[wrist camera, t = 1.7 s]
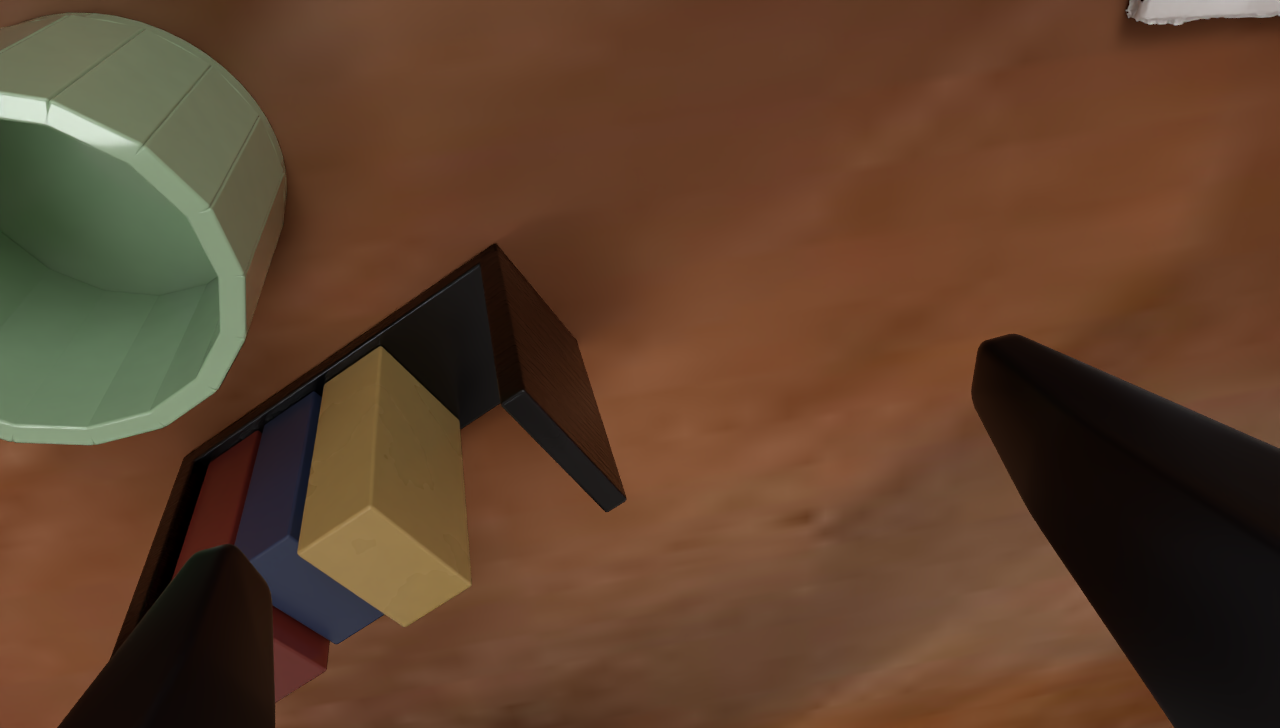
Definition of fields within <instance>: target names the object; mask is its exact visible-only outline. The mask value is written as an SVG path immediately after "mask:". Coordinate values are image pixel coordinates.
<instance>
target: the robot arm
mask: <svg viewBox="0 0 1280 728" xmlns="http://www.w3.org/2000/svg"><path fill="white" fill-rule="evenodd" d="M971 393H972V400H973V404H974V407H975V409H976V411H977V413H978V415H979V417H980V419H981V421H982V423H983V425H984V427H985V429H986V430H987V432H988V434H989V436H990V438H991V440H992V442H993V444H994V446H995V448H996V450H997V452H998V454H999V455H1000V457H1001V459H1002V461H1003V463H1004V465H1005V467H1006V469H1007V471H1008V473H1009V475H1010V477H1011V479H1012V480H1013V482H1014V484H1015V486H1016V488H1017V490H1018V492H1019V494H1020V496H1021V498H1022V499H1023V501H1024V503H1025V505H1026V507H1027V508H1028V510H1029V512H1030V514H1031V515H1032V517H1033V518H1034V520H1035V521H1036V523H1037V524H1038V526H1039V528H1040V529H1041V531H1042V532H1043V534H1044V535H1045V537H1046V538H1047V540H1048V541H1049V543H1050V544H1051V545H1052V547H1053V548H1054V550H1055V551H1056V553H1057V554H1058V556H1059V557H1060V559H1061V560H1062V562H1063V563H1064V565H1065V566H1066V568H1067V569H1068V571H1069V572H1070V574H1071V575H1072V577H1073V578H1074V580H1075V581H1076V583H1077V584H1078V585H1079V587H1080V588H1081V590H1082V591H1083V593H1084V594H1085V596H1086V597H1087V599H1088V600H1089V602H1090V603H1091V605H1092V606H1093V608H1094V609H1095V611H1096V612H1097V614H1098V615H1099V617H1100V618H1101V620H1102V621H1103V623H1104V624H1105V625H1106V627H1107V628H1108V630H1109V631H1110V633H1111V634H1112V636H1113V637H1114V639H1115V640H1116V642H1117V643H1118V645H1119V646H1120V648H1121V649H1122V651H1123V652H1124V654H1125V655H1126V657H1127V658H1128V660H1129V661H1130V663H1131V664H1132V665H1133V667H1134V668H1135V670H1136V671H1137V673H1138V674H1139V676H1140V677H1141V679H1142V680H1143V682H1144V683H1145V685H1146V686H1147V688H1148V689H1149V691H1150V692H1151V694H1152V695H1153V697H1154V698H1155V700H1156V701H1157V703H1158V704H1159V705H1160V707H1161V708H1162V710H1163V711H1164V713H1165V714H1166V716H1167V717H1168V719H1169V720H1170V722H1171V723H1172V725H1173V726H1174V728H1280V449H1279V448H1277V447H1275V446H1272V445H1270V444H1268V443H1265V442H1263V441H1261V440H1259V439H1256V438H1254V437H1252V436H1249V435H1247V434H1245V433H1243V432H1240V431H1238V430H1236V429H1234V428H1231V427H1229V426H1227V425H1224V424H1222V423H1220V422H1218V421H1215V420H1213V419H1211V418H1208V417H1206V416H1204V415H1202V414H1199V413H1197V412H1195V411H1192V410H1190V409H1188V408H1186V407H1183V406H1181V405H1179V404H1176V403H1174V402H1172V401H1170V400H1167V399H1165V398H1163V397H1160V396H1158V395H1156V394H1154V393H1151V392H1149V391H1147V390H1144V389H1142V388H1140V387H1138V386H1135V385H1133V384H1131V383H1129V382H1126V381H1124V380H1122V379H1119V378H1117V377H1115V376H1113V375H1110V374H1108V373H1106V372H1103V371H1101V370H1099V369H1097V368H1094V367H1092V366H1090V365H1087V364H1085V363H1083V362H1081V361H1078V360H1076V359H1074V358H1071V357H1069V356H1067V355H1065V354H1062V353H1060V352H1058V351H1055V350H1053V349H1051V348H1049V347H1046V346H1044V345H1042V344H1039V343H1037V342H1035V341H1033V340H1030V339H1028V338H1026V337H1023V336H1021V335H1018V334H1008V335H1004V336H1000V337H997V338H993V339H989V340H986V341H984V342H982V343H981V345H980V346H979V348H978V351H977V357H976V363H975V370H974V376H973V382H972V390H971ZM57 728H275V685H274V650H273V615H272V597H271V592H270V589H269V587H268V585H267V583H266V581H265V580H264V578H263V577H262V576H261V575H260V573H259V572H258V571H257V570H256V569H255V567H254V566H253V565H252V564H251V562H250V561H249V560H248V559H247V557H246V556H245V555H244V554H243V553H242V551H241V550H240V549H239V548H238V547H237V546H235V545H232V544H224V545H220V546H216V547H212V548H209V549H205V550H201V551H198V552H196V553H195V554H193V555H192V556H191V557H190V558H189V559H188V560H187V562H186V563H185V564H184V566H183V567H182V568H181V569H180V571H179V572H178V573H177V575H176V576H175V577H174V578H173V580H172V581H171V582H170V584H169V585H168V586H167V587H166V589H165V590H164V591H163V593H162V594H161V595H160V596H159V598H158V599H157V600H156V602H155V603H154V604H153V605H152V607H151V608H150V609H149V611H148V612H147V613H146V614H145V616H144V617H143V618H142V620H141V621H140V622H139V623H138V625H137V626H136V627H135V629H134V630H133V631H132V632H131V634H130V635H129V636H128V638H127V639H126V640H125V641H124V643H123V644H122V645H121V647H120V648H119V649H118V650H117V652H116V653H115V654H114V656H113V657H112V658H111V659H110V661H109V662H108V663H107V664H106V666H105V667H104V668H103V670H102V671H101V672H100V673H99V675H98V676H97V677H96V679H95V680H94V681H93V682H92V684H91V685H90V686H89V688H88V689H87V690H86V691H85V693H84V694H83V695H82V697H81V698H80V699H79V700H78V702H77V703H76V704H75V706H74V707H73V708H72V709H71V711H70V712H69V713H68V715H67V716H66V717H65V718H64V720H63V721H62V722H61V724H60V725H59V726H58V727H57Z"/></svg>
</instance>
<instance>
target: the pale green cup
mask: <svg viewBox="0 0 1280 728" xmlns="http://www.w3.org/2000/svg"><path fill="white" fill-rule="evenodd" d="M286 197H287V180H286V170H285V165H284V160H283V155H282V152H281V149H280V147H279V144H278V141H277V138H276V136H275V134H274V132H273V130H272V128H271V126H270V124H269V122H268V120H267V118H266V116H265V115H264V113H263V112H262V110H261V109H260V107H259V106H258V104H257V103H256V101H255V100H254V99H253V98H252V96H251V95H250V94H249V93H248V92H247V90H246V89H245V88H244V87H243V86H242V84H241V83H240V82H239V81H237V80H236V79H235V78H234V77H233V76H232V75H231V74H230V73H229V72H228V71H227V70H226V69H225V68H224V67H223V66H221V65H220V64H219V63H217V62H216V61H215V60H213V59H212V58H211V57H210V56H208V55H207V54H206V53H204V52H202V51H201V50H199V49H198V48H196V47H194V46H193V45H191V44H190V43H188V42H186V41H185V40H183V39H181V38H178V37H176V36H174V35H172V34H170V33H168V32H166V31H164V30H162V29H159V28H156V27H153V26H150V25H148V24H145V23H142V22H139V21H135V20H131V19H127V18H123V17H119V16H113V15H105V14H97V13H62V14H55V15H47V16H42V17H39V18H35V19H31V20H28V21H24V22H22V23H20V24H17V25H13V26H9V27H4V28H1V29H0V439H3V440H6V441H9V442H12V441H14V442H16V443H39V444H66V445H94V444H95V445H98V444H102V443H106V442H110V441H114V440H118V439H122V438H126V437H130V436H134V435H138V434H142V433H146V432H150V431H153V430H157V429H161V428H163V427H166V426H168V425H169V424H171V423H172V422H174V421H175V420H177V419H178V418H179V417H181V416H182V415H184V414H185V413H187V412H188V411H189V410H191V409H192V408H194V407H195V406H197V405H198V404H199V403H201V402H202V401H204V400H205V399H207V398H208V397H209V396H211V395H212V394H214V393H215V392H216V391H217V390H218V389H219V388H220V386H221V384H222V382H223V380H224V379H225V377H226V375H227V373H228V371H229V369H230V368H231V366H232V364H233V362H234V360H235V358H236V357H237V355H238V353H239V351H240V349H241V347H242V345H243V344H244V342H245V340H246V337H247V334H248V331H249V327H250V324H251V321H252V318H253V315H254V312H255V309H256V306H257V303H258V300H259V297H260V294H261V291H262V288H263V285H264V282H265V279H266V276H267V273H268V270H269V267H270V264H271V261H272V258H273V255H274V252H275V249H276V246H277V242H278V239H279V236H280V233H281V230H282V227H283V223H284V211H285V207H286Z"/></svg>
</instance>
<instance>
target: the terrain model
mask: <svg viewBox="0 0 1280 728" xmlns="http://www.w3.org/2000/svg"><path fill="white" fill-rule="evenodd" d="M1129 3H1130V5H1129V6H1128V10H1126V11H1128V12H1129V13H1127V15H1128V16H1127V17H1128V18H1130V17H1131V18H1135V19H1136V21H1137V22H1138V21H1142V22H1144V23H1147V24H1148V25H1152V24H1154V25H1155V24H1156V23H1158V25H1160V24H1166V23H1169V24H1174V26H1175V25H1181V24H1183V22H1190V21H1192V20H1198V19H1204V18H1205V19H1209V18H1212V17H1213V18H1219V17H1224V18H1241V17H1256V18H1265V17H1267V16H1268V17H1273V16H1276V15H1278V16H1280V0H1144V1H1143V3H1142V2H1141V0H1130V1H1129ZM1268 17H1267V18H1268ZM1260 24H1261V23H1260Z"/></svg>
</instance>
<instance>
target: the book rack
mask: <svg viewBox="0 0 1280 728" xmlns="http://www.w3.org/2000/svg"><path fill="white" fill-rule="evenodd" d="M500 403H501V406H502V407H503V408H504V409H505V410H506V411H507V412H508V413H509V414H510V415H511V416H512V417H513V418H514V419H515V420H516V421H517V422H518V423H519V424H520V425H521V426H522V427H523V428H524V429H525V430H526V432H527V433H528V434H529V435H530V436H531V437H532V438H533V439H534V440H535V441H536V442H537V443H538V444H539V445H540V446H541V447H542V448H543V449H544V450H545V451H546V452H547V453H548V454H549V455H550V456H551V457H552V458H553V459H554V460H555V461H556V462H557V463H558V464H559V465H560V466H561V467H562V468H563V469H564V470H565V471H566V472H567V473H568V474H569V475H570V476H571V477H572V478H573V479H574V480H575V481H576V482H577V483H578V484H579V486H580V487H581V488H582V489H583V490H584V491H585V492H586V493H587V494H588V495H589V496H590V497H591V498H592V499H593V500H594V501H595V502H596V503H597V504H598V505H599V506H600V507H601V508H602V509H603V510H604V511H605V512H609V511H611V510H612V509H614V508H615V507H617V506H619V505H620V504H622V503H623V502H625V501H626V495H625V492H624V489H623V485H622V482H621V479H620V476H619V473H618V470H617V467H616V463H615V460H614V457H613V454H612V451H611V448H610V444H609V441H608V438H607V435H606V432H605V429H604V425H603V422H602V419H601V416H600V413H599V410H598V406H597V403H596V400H595V397H594V394H593V391H592V388H591V384H590V381H589V378H588V375H587V372H586V369H585V365H584V362H583V359H582V356H581V353H580V350H579V346H578V343H577V340H576V339H575V338H574V337H573V335H572V334H571V333H570V332H569V331H568V329H567V328H566V327H565V326H564V325H563V323H562V322H561V321H560V320H559V319H558V317H557V316H556V315H555V314H554V313H553V311H552V310H551V309H550V308H549V307H548V305H547V304H546V303H545V302H544V301H543V299H542V298H541V297H540V296H539V295H538V293H537V292H536V291H535V290H534V289H533V287H532V286H531V285H530V284H529V283H528V281H527V280H526V279H525V278H524V277H523V275H522V274H521V273H520V272H519V271H518V269H517V268H516V267H515V266H514V265H513V263H512V262H511V261H510V260H509V259H508V257H507V256H506V255H505V254H504V253H503V251H502V250H501V249H500V248H499V247H498V245H497V244H493V245H491V246H490V247H489V248H487V249H486V250H484V251H483V252H481V253H480V254H478V255H477V256H476V257H474V258H473V259H471V260H470V261H468V262H467V263H465V264H464V265H463V266H461V267H460V268H458V269H457V270H455V271H454V272H452V273H451V274H450V275H448V276H447V277H445V278H444V279H442V280H441V281H439V282H438V283H436V284H435V285H434V286H432V287H431V288H429V289H428V290H426V291H425V292H423V293H422V294H421V295H419V296H418V297H416V298H415V299H413V300H412V301H410V302H409V303H408V304H406V305H405V306H403V307H402V308H400V309H399V310H397V311H396V312H395V313H393V314H392V315H390V316H389V317H387V318H386V319H384V320H383V321H382V322H380V323H379V324H377V325H376V326H374V327H373V328H371V329H370V330H369V331H367V332H366V333H364V334H363V335H361V336H360V337H358V338H357V339H356V340H354V341H353V342H351V343H350V344H348V345H347V346H345V347H344V348H342V349H341V350H340V351H338V352H337V353H335V354H334V355H332V356H331V357H329V358H328V359H327V360H325V361H324V362H322V363H321V364H319V365H318V366H316V367H315V368H314V369H312V370H311V371H309V372H308V373H306V374H305V375H303V376H302V377H301V378H299V379H298V380H296V381H295V382H293V383H292V384H290V385H289V386H288V387H286V388H285V389H283V390H282V391H280V392H279V393H277V394H276V395H275V396H273V397H272V398H270V399H269V400H267V401H266V402H264V403H263V404H262V405H260V406H259V407H257V408H256V409H254V410H253V411H251V412H250V413H248V414H247V415H246V416H244V417H243V418H241V419H240V420H238V421H237V422H235V423H234V424H233V425H231V426H230V427H228V428H227V429H225V430H224V431H222V432H221V433H220V434H218V435H217V436H215V437H214V438H212V439H211V440H209V441H208V442H207V443H205V444H204V445H202V446H201V447H199V448H198V449H196V450H195V451H193V452H192V453H191V454H189V455H188V456H186V457H185V458H184V459H183V461H182V464H181V467H180V469H179V472H178V475H177V478H176V480H175V483H174V486H173V488H172V491H171V494H170V497H169V499H168V502H167V505H166V508H165V510H164V513H163V516H162V519H161V521H160V524H159V527H158V529H157V532H156V535H155V538H154V540H153V543H152V546H151V549H150V551H149V554H148V557H147V560H146V562H145V565H144V568H143V571H142V573H141V576H140V579H139V581H138V584H137V587H136V590H135V592H134V595H133V598H132V601H131V603H130V606H129V609H128V612H127V614H126V617H125V620H124V622H123V625H122V628H121V631H120V633H119V636H118V639H117V642H116V644H115V647H114V650H113V653H112V655H111V658H112V657H113V656H114V654H115V653H116V652H117V650H118V649H119V648H120V647H121V645H122V644H123V643H124V641H125V640H126V639H127V638H128V636H129V635H130V634H131V632H132V631H133V630H134V629H135V627H136V626H137V625H138V623H139V622H140V621H141V620H142V618H143V617H144V616H145V614H146V613H147V612H148V611H149V609H150V608H151V607H152V605H153V604H154V603H155V602H156V600H157V599H158V598H159V596H160V595H161V594H162V593H163V591H164V590H165V589H166V587H167V586H168V585H169V584H170V582H171V581H172V580H173V578H174V577H175V576H176V575H177V573H178V572H179V571H180V569H181V568H182V567H183V566H184V564H185V563H186V562H187V560H188V559H189V558H190V557H191V556H192V555H193V554H195V553H196V552H198V551H201V550H205V549H209V548H212V547H216V546H220V545H224V544H232V545H235V546H237V547H238V548H239V549H240V550H241V551H242V553H243V554H244V555H245V556H246V557H247V559H248V560H249V561H250V562H251V564H252V565H253V566H254V567H255V569H256V570H257V571H258V572H259V573H260V575H261V576H262V577H263V578H264V580H265V581H266V583H267V585H268V587H269V589H270V592H271V597H272V615H273V650H274V685H275V703H276V702H277V701H279V700H281V699H282V698H284V697H285V696H287V695H289V694H290V693H292V692H293V691H295V690H296V689H298V688H300V687H301V686H303V685H304V684H306V683H308V682H309V681H311V680H312V679H314V678H316V677H317V676H319V675H320V674H322V673H324V672H325V671H326V670H327V662H328V653H329V643H330V641H331V642H333V643H334V644H339V643H340V642H342V641H343V640H345V639H347V638H348V637H350V636H351V635H353V634H355V633H356V632H358V631H359V630H361V629H362V628H364V627H366V626H367V625H369V624H370V623H372V622H373V621H375V620H377V619H378V618H380V617H381V616H383V615H386V616H388V617H389V618H391V619H392V620H394V621H395V622H397V623H398V624H399V625H401V626H402V627H407V626H408V625H410V624H412V623H413V622H415V621H416V620H418V619H420V618H421V617H423V616H424V615H426V614H428V613H429V612H431V611H432V610H434V609H436V608H437V607H439V606H440V605H442V604H444V603H445V602H447V601H448V600H450V599H452V598H453V597H455V596H456V595H458V594H459V593H461V592H463V591H464V590H466V589H467V588H469V587H470V586H471V585H472V578H471V565H470V552H469V539H468V526H467V513H466V500H465V486H464V473H463V460H462V447H461V434H460V430H461V429H462V428H464V427H465V426H467V425H468V424H470V423H471V422H473V421H474V420H476V419H477V418H479V417H480V416H482V415H483V414H485V413H486V412H488V411H489V410H491V409H492V408H494V407H496V406H497V405H499V404H500ZM111 658H110V659H111Z"/></svg>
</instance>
